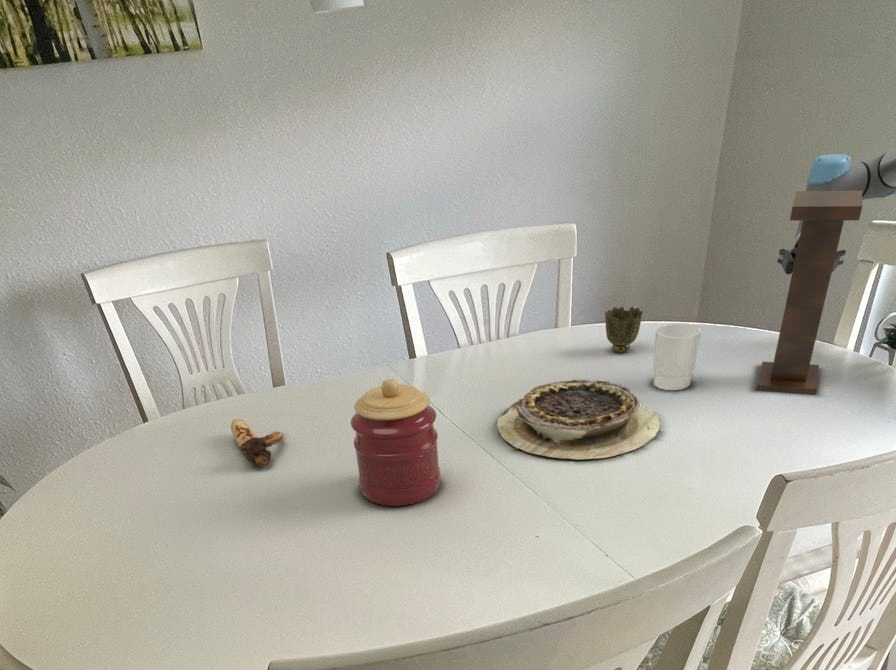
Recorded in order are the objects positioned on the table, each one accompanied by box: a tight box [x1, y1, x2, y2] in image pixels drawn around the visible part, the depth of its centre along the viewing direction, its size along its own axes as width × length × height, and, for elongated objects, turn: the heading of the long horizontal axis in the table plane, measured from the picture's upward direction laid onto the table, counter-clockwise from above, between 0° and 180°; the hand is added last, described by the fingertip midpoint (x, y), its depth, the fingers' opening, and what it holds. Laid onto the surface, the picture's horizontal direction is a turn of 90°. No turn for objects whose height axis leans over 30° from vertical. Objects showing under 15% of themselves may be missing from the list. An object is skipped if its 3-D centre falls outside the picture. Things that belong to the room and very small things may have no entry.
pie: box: [496, 378, 661, 460], centre depth 136 cm, size 28×27×5 cm
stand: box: [755, 190, 863, 395], centre depth 136 cm, size 10×12×30 cm
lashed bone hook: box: [230, 418, 283, 468], centre depth 139 cm, size 9×5×18 cm
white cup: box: [652, 323, 702, 391], centre depth 145 cm, size 8×8×10 cm
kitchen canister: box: [350, 378, 441, 507], centre depth 119 cm, size 13×13×18 cm
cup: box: [604, 306, 644, 354], centre depth 161 cm, size 8×7×8 cm
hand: (807, 278), depth 153 cm, fingers closed
